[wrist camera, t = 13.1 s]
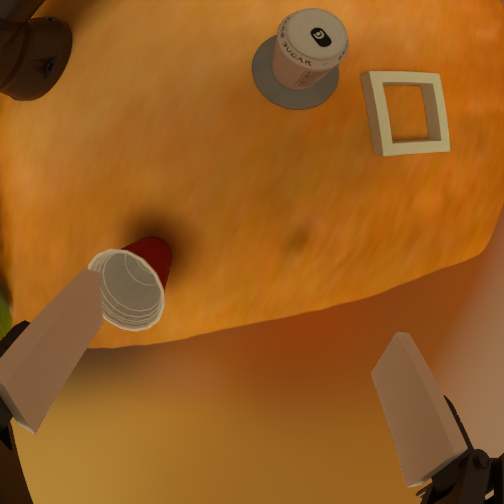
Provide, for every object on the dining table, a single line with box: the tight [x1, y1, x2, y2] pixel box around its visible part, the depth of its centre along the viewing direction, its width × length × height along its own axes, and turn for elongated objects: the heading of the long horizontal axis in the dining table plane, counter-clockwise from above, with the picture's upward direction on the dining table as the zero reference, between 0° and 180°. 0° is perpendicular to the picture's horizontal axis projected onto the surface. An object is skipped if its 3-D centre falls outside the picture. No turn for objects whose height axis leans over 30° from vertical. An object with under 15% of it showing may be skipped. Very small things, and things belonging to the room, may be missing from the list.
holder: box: [360, 71, 450, 156], centre depth 31 cm, size 11×11×4 cm
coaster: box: [252, 35, 339, 110], centre depth 31 cm, size 11×11×1 cm
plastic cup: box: [88, 237, 171, 331], centre depth 36 cm, size 11×11×12 cm
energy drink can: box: [272, 8, 349, 90], centre depth 24 cm, size 6×6×15 cm
